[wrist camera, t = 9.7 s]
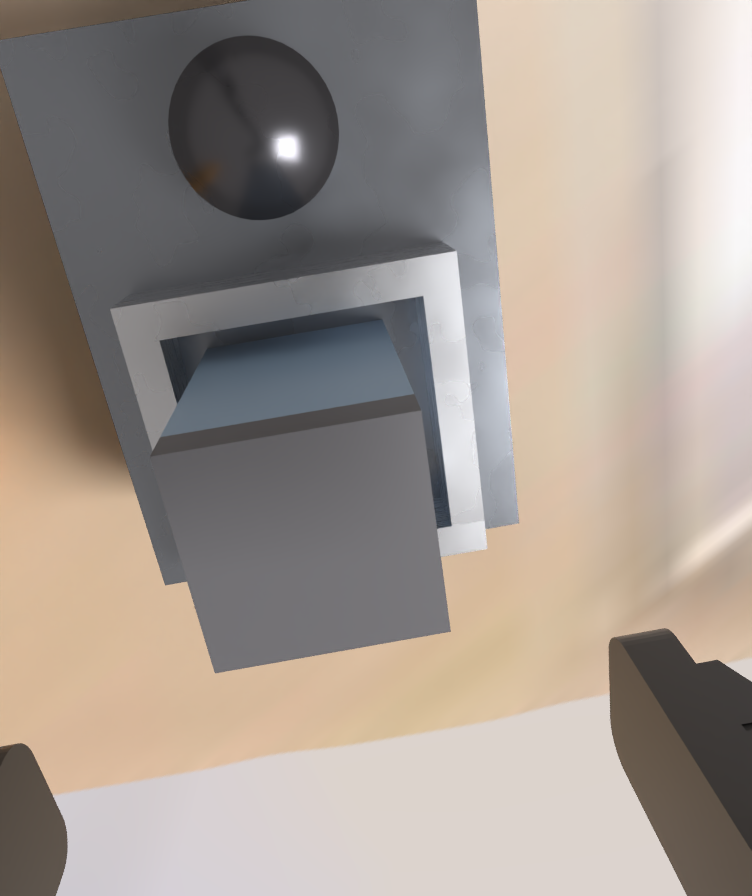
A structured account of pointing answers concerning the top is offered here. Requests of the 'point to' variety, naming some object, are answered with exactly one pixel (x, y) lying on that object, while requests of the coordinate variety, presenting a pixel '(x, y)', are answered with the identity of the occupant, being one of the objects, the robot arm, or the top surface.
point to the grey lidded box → (303, 498)
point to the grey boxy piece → (279, 213)
